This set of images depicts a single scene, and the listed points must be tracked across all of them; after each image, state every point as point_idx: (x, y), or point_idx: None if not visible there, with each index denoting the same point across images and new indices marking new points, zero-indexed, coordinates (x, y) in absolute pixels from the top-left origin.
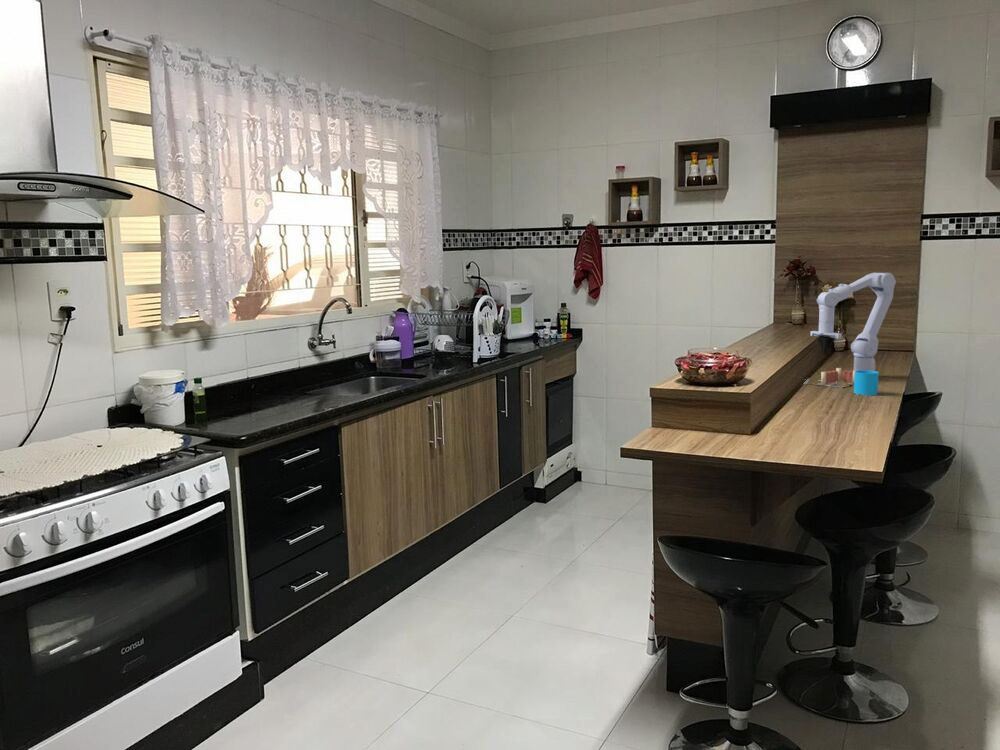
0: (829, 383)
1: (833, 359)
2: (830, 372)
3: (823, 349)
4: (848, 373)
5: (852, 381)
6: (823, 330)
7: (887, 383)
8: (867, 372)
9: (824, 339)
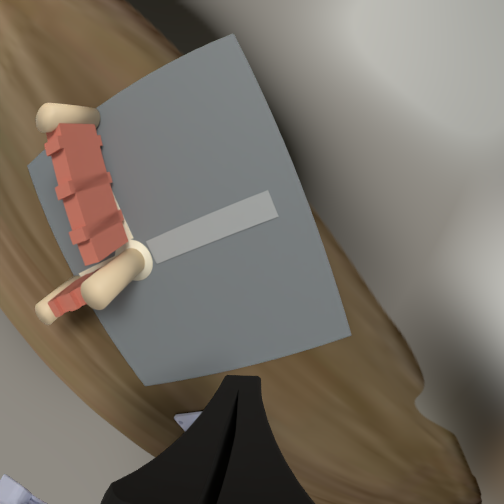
0: (117, 189)
1: (464, 489)
2: (59, 183)
3: (219, 410)
4: (65, 291)
5: (74, 281)
6: None
7: (91, 389)
8: None
9: (116, 495)
